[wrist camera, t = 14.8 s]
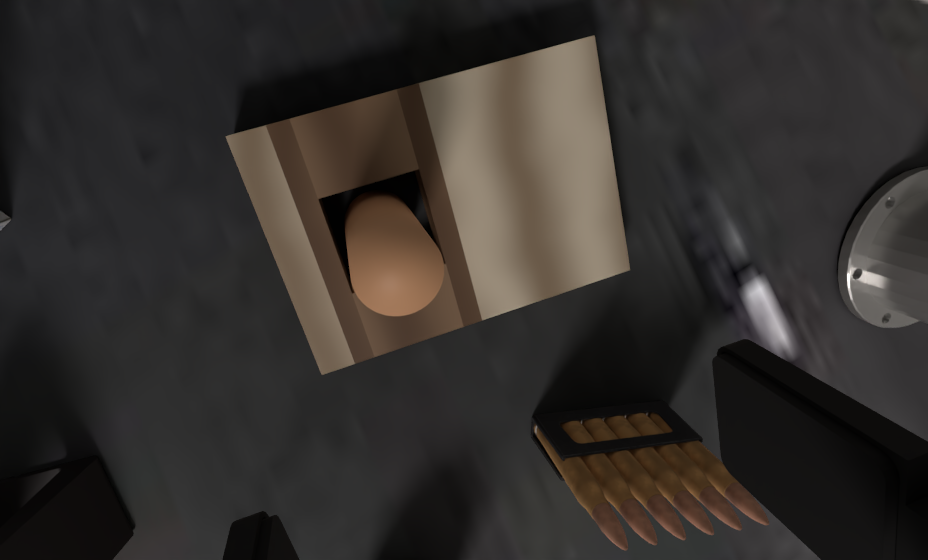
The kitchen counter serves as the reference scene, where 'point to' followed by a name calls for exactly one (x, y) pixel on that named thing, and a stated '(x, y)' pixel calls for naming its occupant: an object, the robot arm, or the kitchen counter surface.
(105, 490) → the phone stand
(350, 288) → the plywood deck
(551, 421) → the ammunition clip
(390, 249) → the peg
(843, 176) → the kitchen counter surface
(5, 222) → the light bulb box
